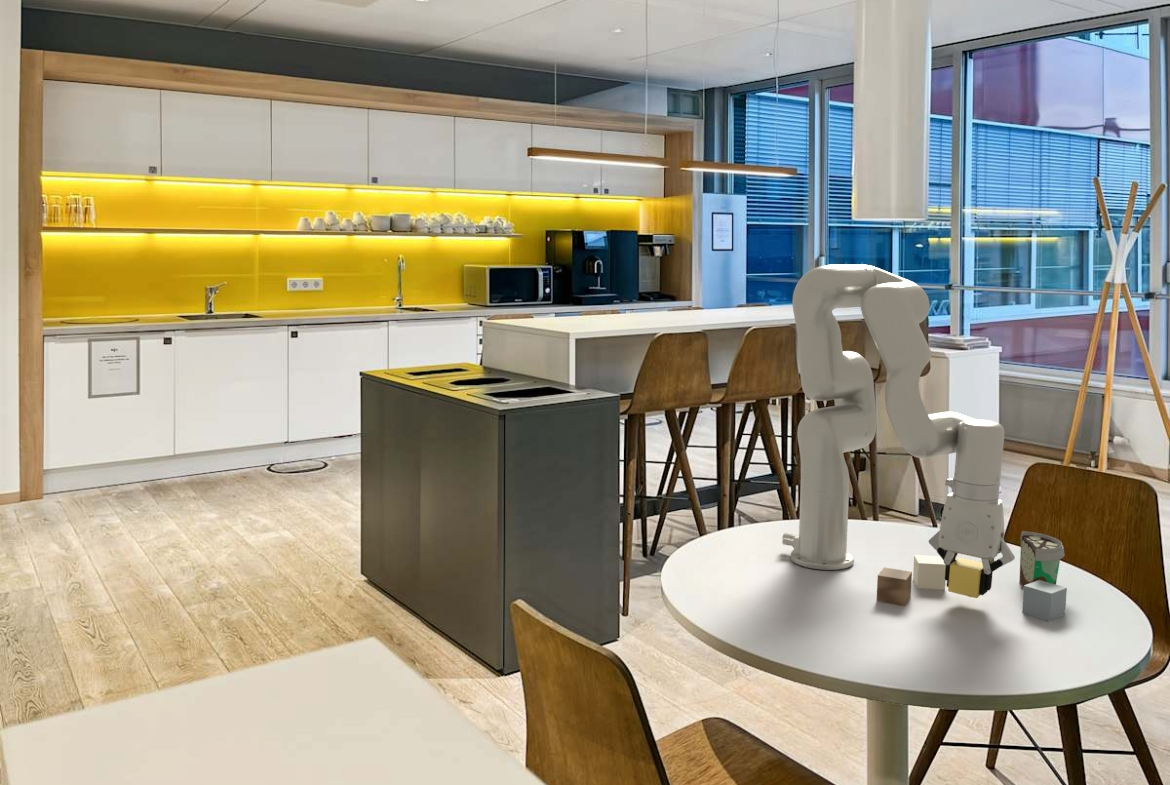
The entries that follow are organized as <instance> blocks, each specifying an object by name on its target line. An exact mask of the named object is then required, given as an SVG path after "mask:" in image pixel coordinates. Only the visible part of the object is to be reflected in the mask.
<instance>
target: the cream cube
mask: <svg viewBox="0 0 1170 785" xmlns="http://www.w3.org/2000/svg"><path fill="white" fill-rule="evenodd" d="M913 556H914V557H913V568H912V569H913V571H912V581H913V583H914V584H915V587H916V588H917V589H921V590H923V589H924V590H939V591H940V590H942V591H945V590H946V583H947V580H945V569H946V565H945V564H944V562H943V561H944V560H943V559H942V558H941V557H940V555H923V554H922V555H921V554H914V555H913Z"/></svg>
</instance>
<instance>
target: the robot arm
mask: <svg viewBox="0 0 1170 785" xmlns="http://www.w3.org/2000/svg"><path fill="white" fill-rule="evenodd" d="M930 305H931V304H930V300H929V296H928V294H927V293H926V291H925V290H924V288H922V287H921V286H920V285H919V284H917V283H915V282H914V281H911V280H909V279H907V278H904V277H901V276H899V275H896V274H893V273H891V272H888V271H886V270H884V269H881V268H879V267H875V266H874V265H870V264H869V265H868V264H861V263H860V264H858V263H857V264H852V263H851V264H840V263H839V264H837V263H836V264H827V265H820V266H817V267H814V268H812V269H810V270H809V271H807V272H806V273H804V274H803V275H802V276H801V278H800V279H799V280H798V282H797V284H796V286H795V288H794V291H793V294H792V312H793V317H794V322H795V328H796V334H797V350H798V360H799V361H798V363H799V374H800V384H801V388H802V391H803V393H804V394H805V396H806V397H807V398H808V399H810V400H812V401H817V402H822V401H825V402H826V401H832V400H834V405H833V406H827V407H821V408H817V409H813V410H811V411H808V412H807V413H806V414H805V415H804V416H802V418H801V419H800V422H799V423H798V426H797V442H798V443H797V444H798V448H799V449H798V450H799V458H800V498H799V499H800V500H799V519H798V520H799V522H798V523H799V524H798V525H799V526H798V529H799V530H798V535H795V534H792V533H788V532H784V533H783V535H782V539H781V540H782V541H781V542H782V543H781V544H782V545H785V546H790V547H792V548H793V549H792V551H791V552H790V560H791V561H792V562H793V563H795V564H797V565H798V566H801V567H804V568H809V569H813V570H814V569H815V570H821V571H823V570H824V571H826V570H827V571H834V570H837V571H838V570H843V569H847V568H849V567H852V566H853V565H854V563H855V557H854V556H853V554H851V553H850V552H848V551H847V545H848V544H847V542H848V524H849V522H848V521H849V503H850V502H849V499H850V497H849V496H850V473H849V468H848V465H847V463H846V460H845V459H846V458H845V455H844V453H847V452H852V451H857V450H861V449H864V448H865V447H867V446H869V445H870V444H871V443H872V441H873V440H874V438H875V436H876V434H877V433H876V432H877V411H876V409H877V408H876V398H875V384H874V376H873V371H872V368H871V366H870V364H869V362H868V360H866V358H865V357H863V356H862V355H861V354H859V352H855V351H851V350H845V351H843V344H842V332H841V328H840V324H839V322H838V320H837V318H836V317H835V315H834V314H833V310H835V309H843V308H845V309H846V308H860V311H861V314H862V318H864V322H865V324H866V325H867V329H868V331H869V333H870V335H871V337H872V339H873V342H874V344H875V346H876V349H877V351H878V353H879V356H880V358H881V360H882V363H883V365H884V368H885V370H886V380H885V385H884V386H885V388H884V393H885V394H884V395H885V396H884V399H885V402H884V403H885V409H886V410H885V411H886V413H887V416H888V419H889V422H890V424H891V426H892V428H893V431H894V433H895V435H896V437H897V439H898V441H899V443H900V444H901V446H902V448H903V449H904V450H905V451H906V452H907V453H909V455H911V456H912V457H914V458H917V459H918V458H919V459H928V458H933V457H939V456H941V455H942V456H943V455H949V454H950V455H951V454H955V460H954V462H955V464H954V475H953V476H954V477H952V478H946V479H945V484H944V485H945V487H949V488H951V493H948V494H947V495H946V499H945V503H944V506H943V510H942V514H941V515H942V516H941V521H940V526H939V531H937V532H936V533H935V534H934V535H933V536H932V537H931V538H930V539H929V540H928V543H929V545H930V546H932V548H933V549H934V550H935V551H936V552H937V554H938V556H940V557H941V558H942V559H943V560H944V561H943V562H944V564H945V565H946V569H945V580H946V587H947V588H948V586H949V574H950V564H952V563H953V562H954V561H956V560H957V556H958V555H959V554H960V555H965V556H970V557H974V558H978V559H981V562H982V565H983V572H982V573H981V576H980V587H979V594H980V596H984V595H985V594H986V593H987V592H988V591H991V589H992V583H993V572H995V571H997V570H998V569H999V568H1001V567H1003V566H1005V565H1007V564H1009V563H1011V562H1013V561H1014V560H1015V558H1016V556H1015V555H1014V553H1013V552H1012V550H1011V549H1010V547H1009V545H1008V544H1007V542H1006V541H1005V517H1004V507H1003V501H1002V499H999V498H1000V486H1001V485H1000V484H1001V477H1002V476H1001V475H1002V464H1003V456H1004V455H1003V454H1004V443H1005V428H1004V426H1003V425H1002V424H1001V423H999V422H997V421H994V420H989V419H980V418H979V419H977V418H973V417H970V416H967V415H965V414H962V413H959V412H955V411H943V412H942V411H941V412H934V413H928V410H927V409H926V406H925V405H924V402H923V399H922V397H921V393H920V378H921V374H922V373H923V370H924V369H925V368H926V366H927V364H928V363H929V362H930V361H931V359H932V350H931V348H930V346H929V343H928V342H927V339H926V338H925V335H924V333H923V331H922V329H921V327H920V324H921V323H922V322H923V321H924V320H925V319H926V318H927V317H928V315H929V313H930V307H931V306H930ZM999 554H1001V555H1002V557H1000V558H997V559H996V560H995V558H996V557H997V556H998V555H999Z"/></svg>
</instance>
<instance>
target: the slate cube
mask: <svg viewBox="0 0 1170 785" xmlns="http://www.w3.org/2000/svg"><path fill="white" fill-rule="evenodd" d="M1067 590H1068V589H1067V587H1065V586H1063V585H1059V584H1057V583H1056V584H1052V583H1048V582H1045V581H1041V580H1038V581H1035V582H1032V583H1030V584H1027V585H1024V590H1023V593H1022V596H1023V597H1022V608H1021V612H1022V613H1024V614H1026V615H1029V616H1032V617H1036V618H1038V619H1040V620H1046V621H1048V622H1051V621H1054V620H1056V619H1058V618H1060V617H1063V616H1065V614H1066V605H1067V603H1066V602H1067V593H1068V592H1067Z"/></svg>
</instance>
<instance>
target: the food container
mask: <svg viewBox="0 0 1170 785" xmlns="http://www.w3.org/2000/svg"><path fill="white" fill-rule="evenodd" d="M1019 541H1020V558H1019V579H1018V582H1019V583H1018V584H1019V586H1020V587H1021V588H1022V589H1023V591H1024V585H1027V584H1030V583H1032V582H1035V581H1038V580H1041V581H1045V582H1048V583H1052V584H1056V585H1057V580H1058V576H1059V575H1058V574H1059V568H1060V562H1061V559H1063V558H1064V557H1065V556H1066V555H1065V548H1064V545H1063V542H1062V541H1061V540H1060V539H1058V538H1056V537H1055V536H1054V537H1053V536H1050V535H1047V534H1043V533H1038V532H1033V531H1021V533H1020V540H1019Z"/></svg>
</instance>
